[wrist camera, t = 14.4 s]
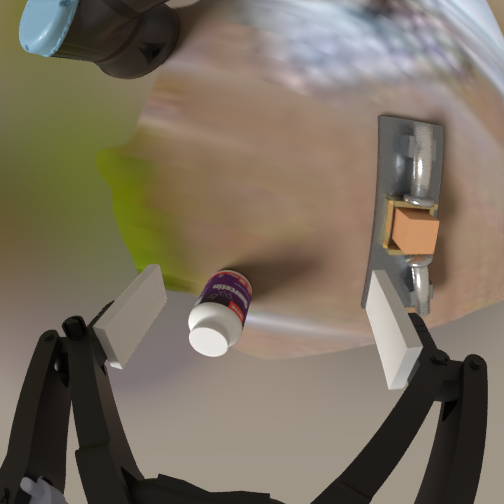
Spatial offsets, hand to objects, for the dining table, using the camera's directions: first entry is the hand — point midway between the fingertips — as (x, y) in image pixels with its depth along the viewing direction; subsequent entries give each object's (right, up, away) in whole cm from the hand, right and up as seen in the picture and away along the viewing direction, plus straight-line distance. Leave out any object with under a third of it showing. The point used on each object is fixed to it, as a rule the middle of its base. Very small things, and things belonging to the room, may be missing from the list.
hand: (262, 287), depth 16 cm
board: (+24, +7, +23) cm, 34 cm away
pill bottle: (-4, -4, +33) cm, 33 cm away
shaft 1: (+23, +16, +18) cm, 33 cm away
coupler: (+24, +7, +22) cm, 33 cm away
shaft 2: (+27, -2, +25) cm, 37 cm away
